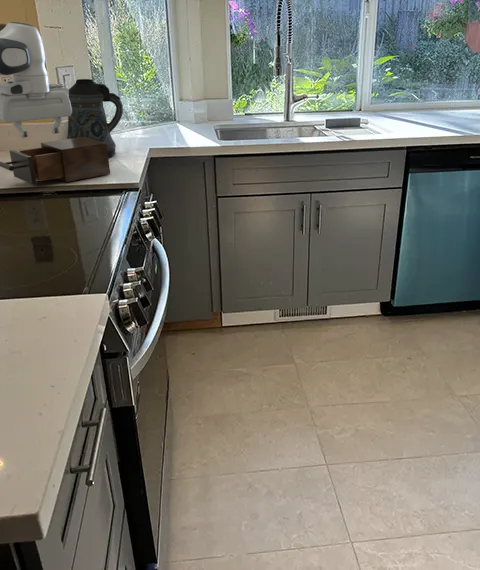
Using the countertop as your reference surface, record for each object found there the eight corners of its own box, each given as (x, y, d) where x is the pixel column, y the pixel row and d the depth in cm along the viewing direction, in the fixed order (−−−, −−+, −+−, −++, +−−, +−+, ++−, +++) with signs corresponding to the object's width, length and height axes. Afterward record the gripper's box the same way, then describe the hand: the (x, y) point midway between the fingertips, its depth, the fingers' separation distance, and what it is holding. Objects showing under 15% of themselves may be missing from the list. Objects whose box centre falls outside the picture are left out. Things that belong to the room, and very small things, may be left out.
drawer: (16, 187, 165) (10, 159, 162) (-3, 179, 172) (-8, 152, 169) (76, 176, 178) (73, 150, 175) (57, 169, 185) (53, 144, 181)
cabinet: (66, 181, 175) (61, 149, 171) (45, 173, 183) (40, 142, 179) (110, 173, 186) (106, 143, 181) (89, 166, 193) (85, 136, 189)
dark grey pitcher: (58, 154, 206) (45, 79, 195) (110, 145, 219) (100, 74, 208) (80, 163, 196) (67, 84, 185) (133, 154, 208) (124, 80, 197)
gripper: (61, 81, 175) (68, 129, 181) (-11, 86, 161) (-1, 137, 166) (72, 84, 171) (79, 132, 177) (0, 89, 157) (9, 141, 163)
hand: (40, 135), depth 172 cm, fingers open, 8 cm apart
